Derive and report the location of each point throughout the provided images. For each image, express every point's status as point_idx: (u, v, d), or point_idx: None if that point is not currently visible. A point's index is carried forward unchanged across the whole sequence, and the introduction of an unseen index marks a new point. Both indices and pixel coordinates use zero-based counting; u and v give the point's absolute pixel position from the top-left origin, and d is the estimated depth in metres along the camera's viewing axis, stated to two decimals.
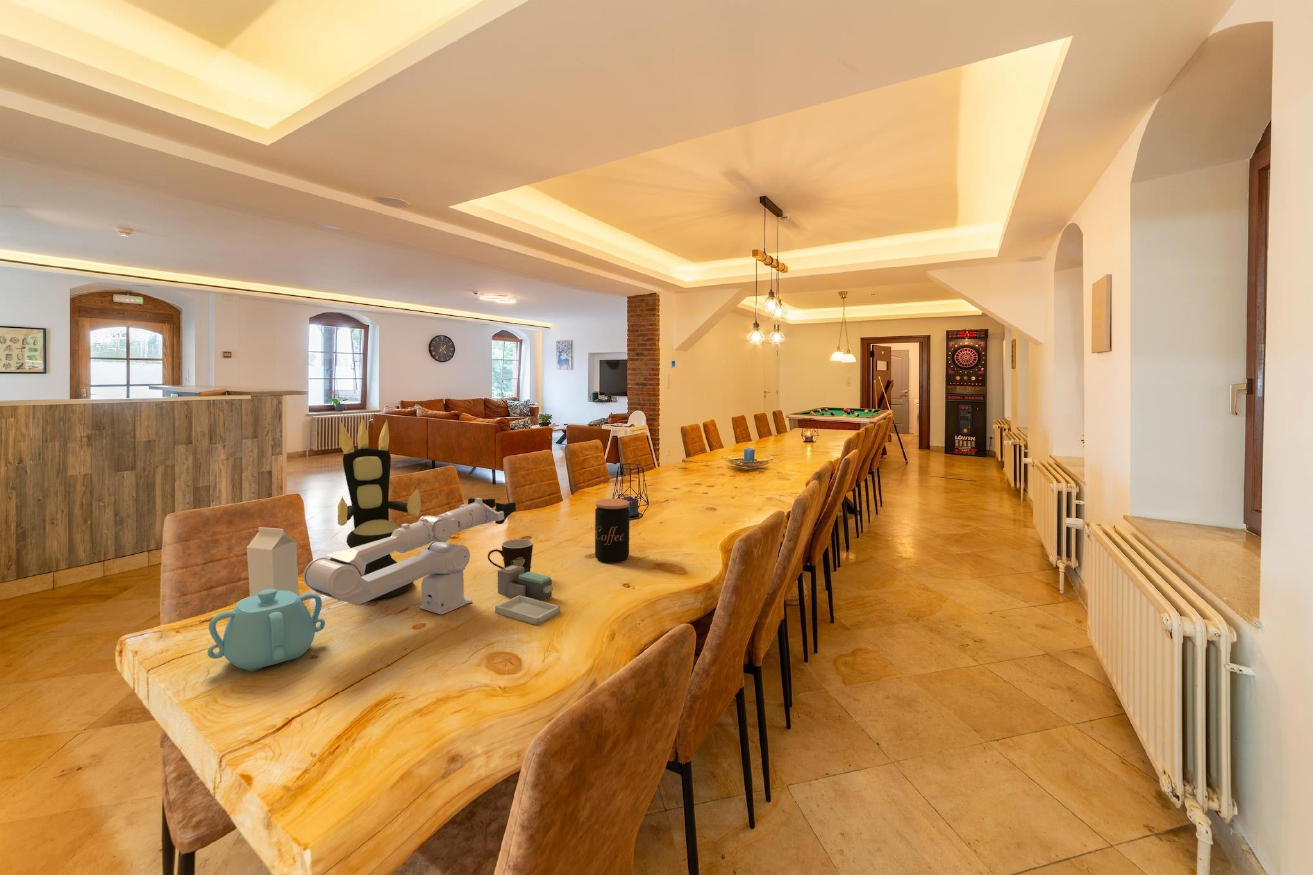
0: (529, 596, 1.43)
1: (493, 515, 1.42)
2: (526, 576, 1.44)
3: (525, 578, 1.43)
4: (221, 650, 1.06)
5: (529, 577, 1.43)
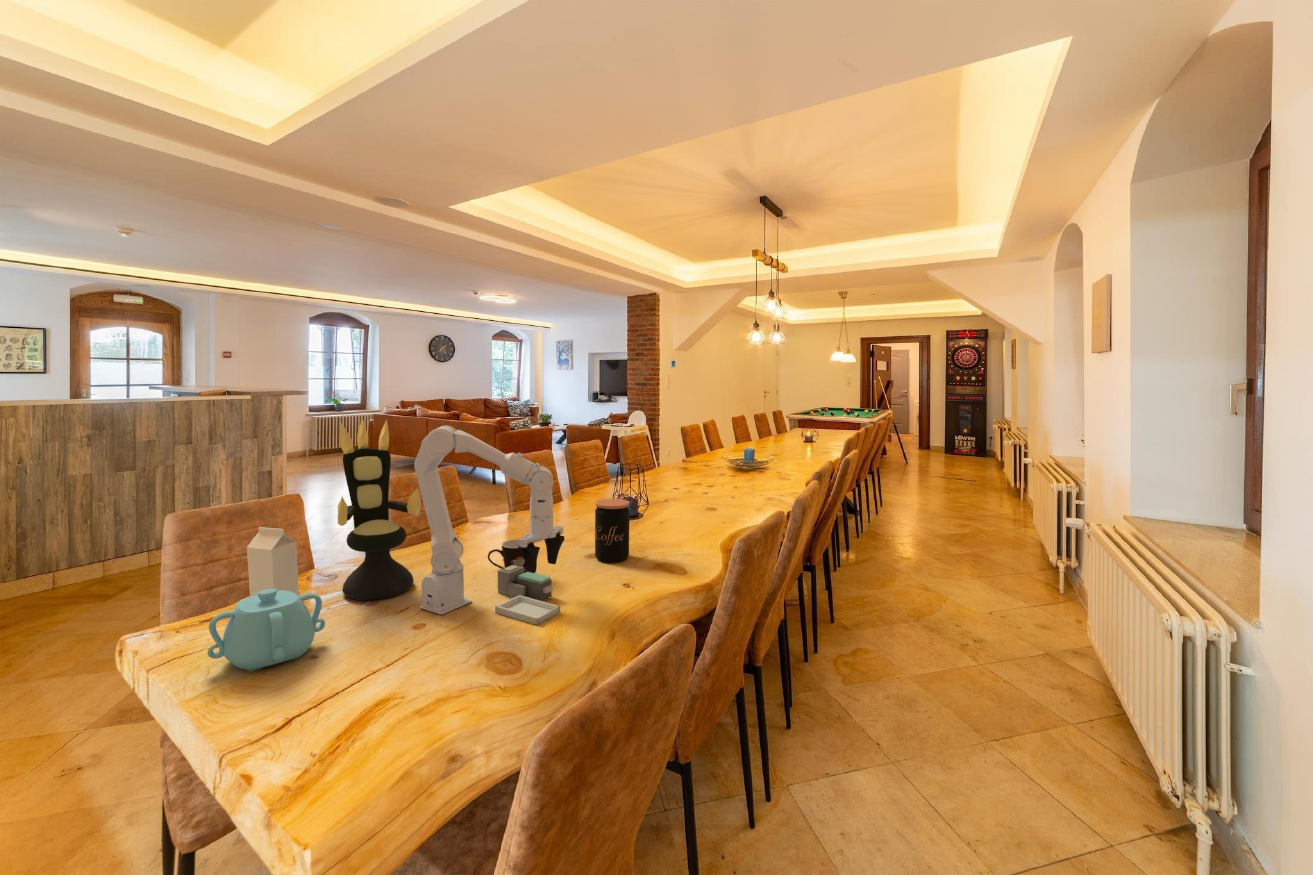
0: (529, 596, 1.43)
1: (527, 538, 1.37)
2: (526, 575, 1.44)
3: (525, 578, 1.43)
4: (221, 650, 1.06)
5: (529, 577, 1.43)
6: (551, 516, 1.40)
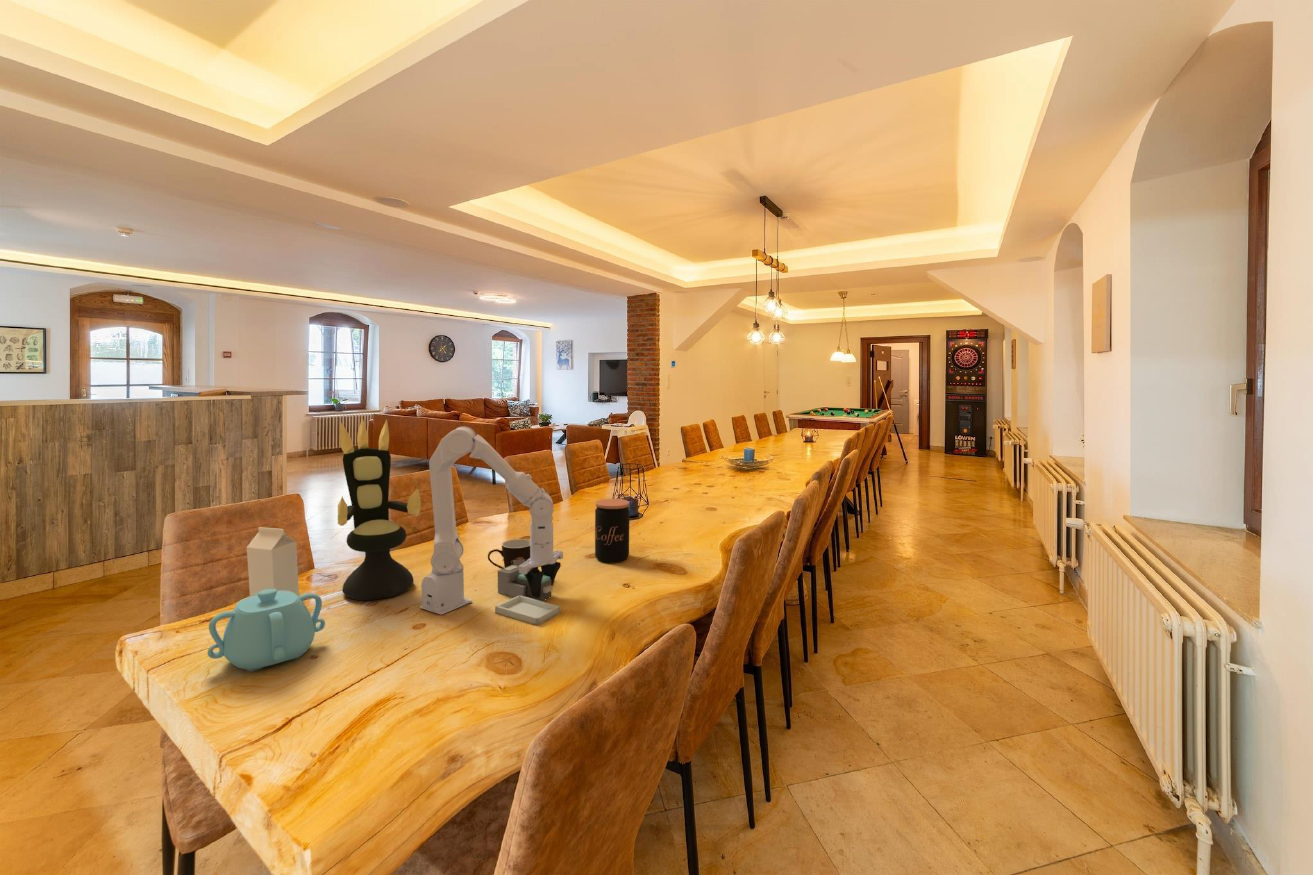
0: (529, 596, 1.43)
1: (527, 564, 1.37)
2: None
3: (525, 578, 1.43)
4: (221, 650, 1.06)
5: None
6: (551, 542, 1.41)
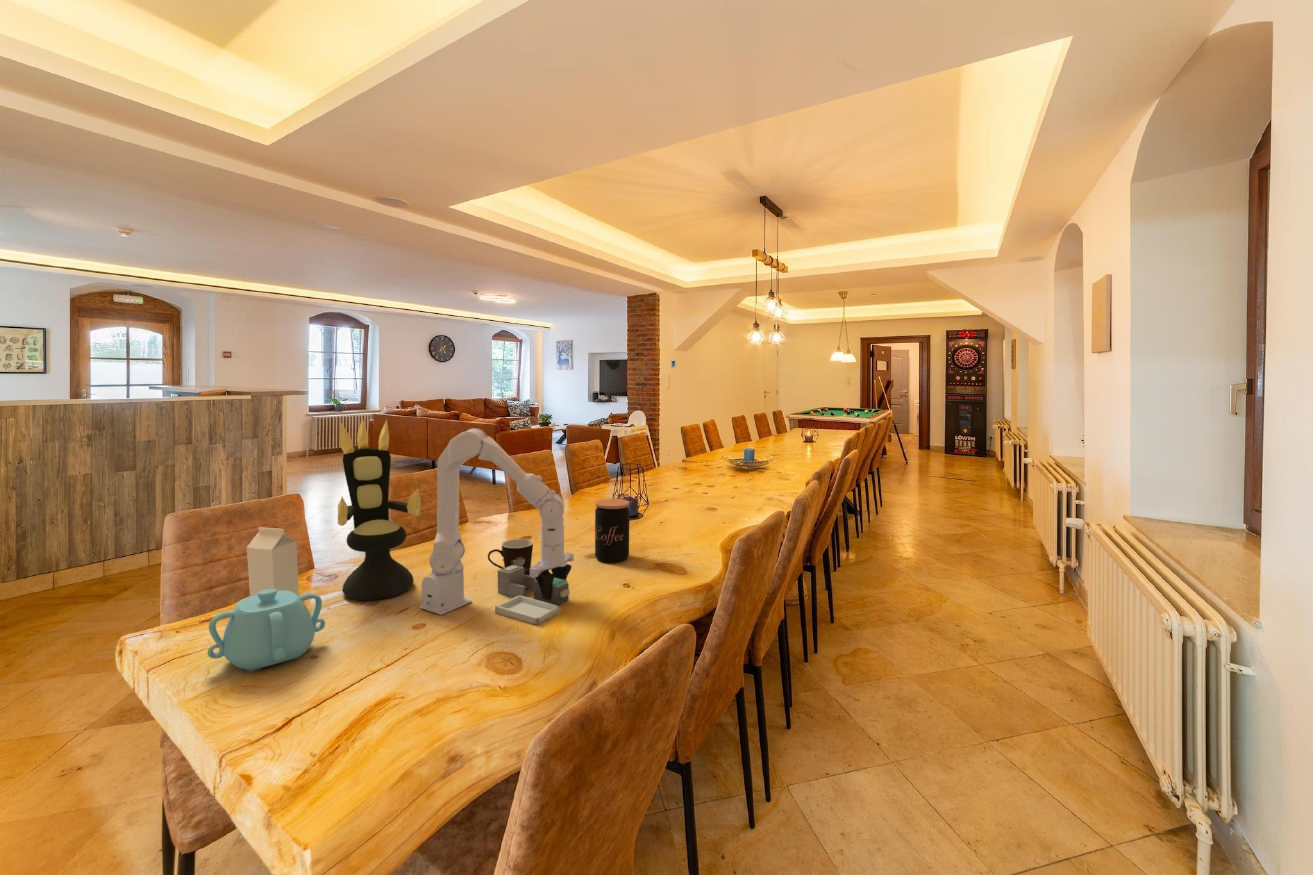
0: (546, 600, 1.40)
1: (538, 567, 1.36)
2: None
3: None
4: (221, 650, 1.06)
5: None
6: (562, 544, 1.39)
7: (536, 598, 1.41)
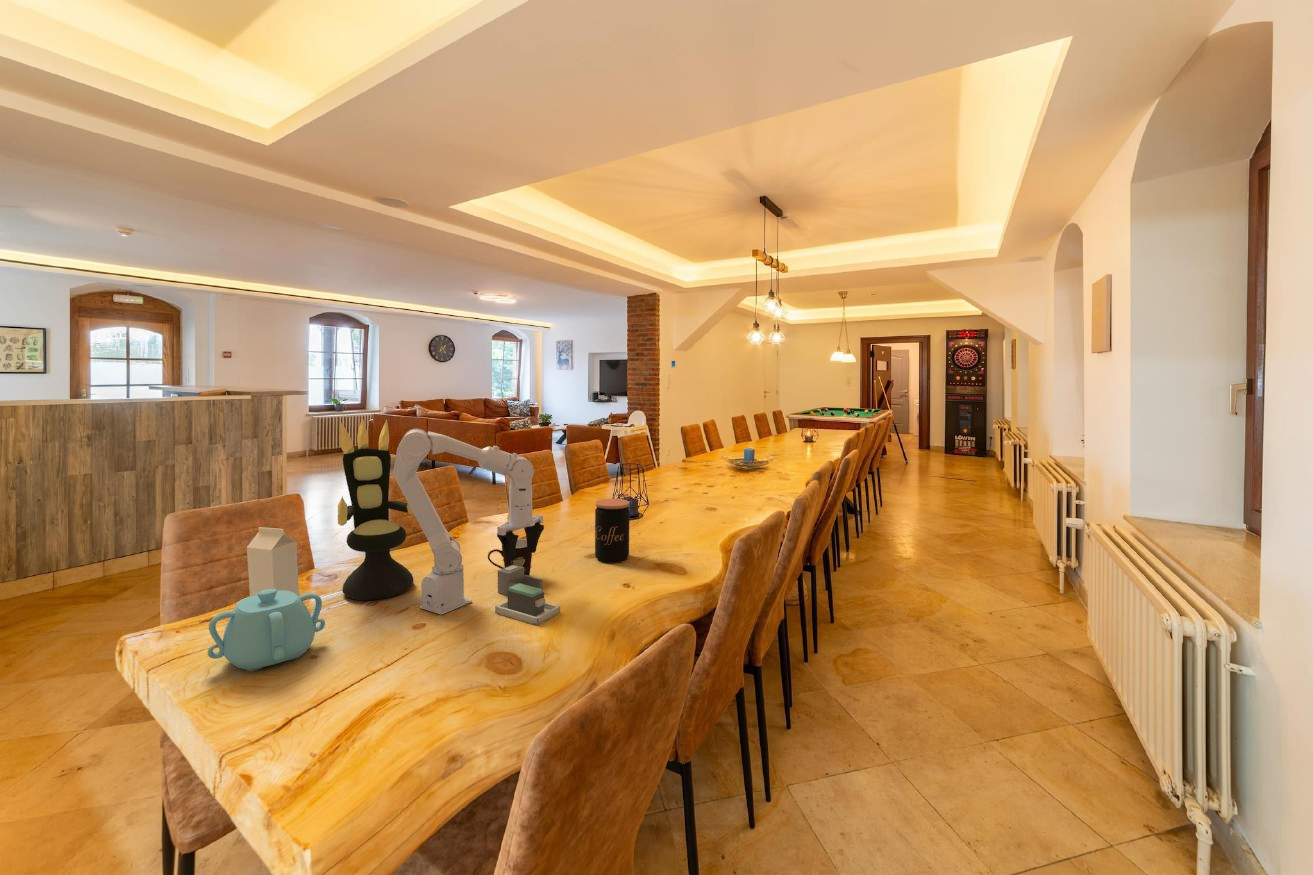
0: (520, 610, 1.33)
1: (506, 526, 1.39)
2: (517, 588, 1.34)
3: (516, 590, 1.33)
4: (221, 650, 1.06)
5: (520, 589, 1.33)
6: (530, 505, 1.42)
7: (510, 608, 1.34)
